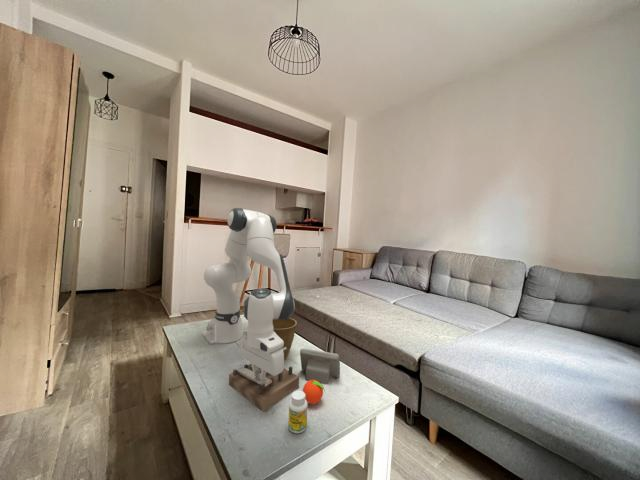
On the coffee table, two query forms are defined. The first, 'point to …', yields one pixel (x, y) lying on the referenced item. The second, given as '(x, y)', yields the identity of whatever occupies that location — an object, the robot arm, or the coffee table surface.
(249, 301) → the robot arm
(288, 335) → the plant pot
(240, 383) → the strap base
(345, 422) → the coffee table surface
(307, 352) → the digital clock
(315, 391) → the clementine
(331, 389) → the coffee table surface
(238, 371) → the near strap
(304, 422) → the supplement bottle
